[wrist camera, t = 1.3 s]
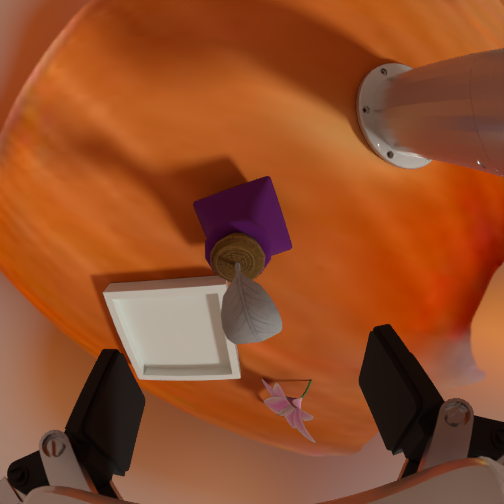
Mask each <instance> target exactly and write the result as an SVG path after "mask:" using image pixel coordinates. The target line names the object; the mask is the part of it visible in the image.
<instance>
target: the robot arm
mask: <svg viewBox="0 0 504 504" xmlns="http://www.w3.org/2000/svg"><path fill="white" fill-rule="evenodd" d="M363 109H364V110H365V112H363ZM356 113H357V118H358V123H359V126H360V129H361V131H362V134H363V136H364V138H365V139H366V141H367V143H368V144H369V146H370V147H371V148H372V150H373V151H374V152H375V153H376V154H377V155H378V156H379V157H380V158H381V159H383V160H384V161H386V162H388V163H389V164H391V165H394V166H396V167H400V168H404V169H417V168H421V167H423V166H425V165H428V164H429V163H430V162H431V161H433V160H436V161H441V162H446V163H451V164H456V165H460V166H464V167H469V168H473V169H477V170H481V171H484V172H488V173H492V174H495V175H499V176H502V177H504V48H502V49H495V50H489V51H484V52H479V53H474V54H469V55H464V56H460V57H455V58H451V59H447V60H443V61H439V62H436V63H432V64H428V65H425V66H421V67H418V68H415V69H413V68H412V67H409V66H407V65H404V64H398V63H388V64H384V65H381V66H378V67H376V68H375V69H373V70H371V71H370V72H369V73H368V74H367V75H366V76H365V77H364V79H363V80H362V82H361V83H360V86H359V89H358V92H357V99H356ZM387 153H388V156H387ZM359 385H360V388H361V390H362V392H363V394H364V397H365V399H366V401H367V404H368V406H369V408H370V410H371V413H372V415H373V417H374V420H375V422H376V425H377V427H378V429H379V432H380V434H381V437H382V439H383V441H384V444H385V446H386V448H387V450H391V451H392V454H393V455H396V454H398V453H401V452H403V453H404V455H405V457H406V460H405V463H404V465H403V467H402V470H401V472H400V474H399V477H398V479H397V481H394V482H392V483H389V484H386V485H383V486H380V487H377V488H374V489H371V490H368V491H364V492H361V493H358V494H355V495H351V496H347V497H343V498H339V499H335V500H331V501H327V502H322V503H317V504H504V422H501V421H496V420H492V419H487V418H483V417H479V416H475V415H474V412H473V409H472V407H471V406H470V404H469V403H468V402H466V401H465V400H462V399H460V398H453V399H449V400H447V401H446V402H445V401H444V400H443V398H442V397H441V395H440V394H439V392H438V391H437V389H436V387H435V386H434V384H433V383H432V381H431V380H430V378H429V377H428V375H427V374H426V372H425V371H424V369H423V368H422V366H421V365H420V364H419V362H418V361H417V359H416V358H415V356H414V355H413V354H412V353H410V352H409V350H408V349H407V347H406V346H405V344H404V343H403V342H402V340H401V339H400V337H399V336H398V335H397V333H396V332H395V331H394V329H393V328H392V327H391V325H390V324H385V325H381V326H376V327H374V329H373V331H371V332H370V334H369V338H368V343H367V347H366V351H365V356H364V360H363V364H362V368H361V372H360V376H359ZM144 406H145V397H144V395H143V393H142V391H141V389H140V387H139V385H138V383H137V381H136V380H135V378H134V376H133V374H132V372H131V370H130V368H129V365H128V363H127V361H126V359H125V357H124V355H123V354H122V353H120V352H119V350H117V349H103V350H102V352H101V353H100V355H99V357H98V359H97V361H96V363H95V365H94V367H93V369H92V371H91V373H90V375H89V377H88V379H87V381H86V383H85V385H84V387H83V389H82V392H81V394H80V396H79V398H78V400H77V402H76V405H75V406H74V409H73V411H72V413H71V416H70V418H69V420H68V422H67V425H66V427H65V429H66V430H65V432H61V431H59V430H51V431H49V432H47V433H45V434H44V436H43V437H42V438H41V440H40V443H39V450H38V451H36V452H34V453H32V454H30V455H28V456H25V457H23V458H21V459H19V460H16V461H15V462H13V463H11V465H10V466H9V468H8V471H7V476H8V478H6V477H3V478H2V479H1V480H0V504H138V503H133V502H128V501H124V499H123V498H122V497H121V495H120V493H119V491H118V490H117V488H116V486H115V485H114V483H113V481H112V476H113V474H115V475H120V476H125V471H128V470H129V467H130V463H131V459H132V455H133V450H134V446H135V442H136V438H137V433H138V429H139V425H140V422H141V418H142V414H143V410H144Z"/></svg>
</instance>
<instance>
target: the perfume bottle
mask: <svg viewBox="0 0 504 504" xmlns="http://www.w3.org/2000/svg"><path fill="white" fill-rule="evenodd" d="M193 206H194V209H195V211H196V213H197V216H198V218H199V221H200V223H201V226H202V228H203V230H204V233H205V235H206V238H207V239H206V240H205V258H206V260H207V262H208V263H209V265H210V267H211V268H212V270H213V271H214V273H216V274H217V275H218V276H219V277H221V278H223V279H225V280H227V281H229V282H231V284H230V286H229V287H228V289H227V290H226V292H225V294H224V295H223V300H222V308H221V321H222V328H223V331H224V333H225V335H226V338H227V339H228V340H229V341H231V342H232V343H234V344H244V343H255V342H262V341H264V340H266V339H268V338H270V337H272V336H274V335H276V334H278V333H279V332H281V331H282V320H281V317H280V314H279V311H278V310H277V308H276V306H275V304H274V302H273V301H272V299H271V298H270V296H269V295H268V294H267V293H266V291H265V290H264V289H263V288H262V286H261V285H260V284H258V283H256V282H255V281H253V279H255V278H257V276H258V275H260V274H261V273H262V271H263V270H264V268H265V267H266V266H267V264H268V263H269V261H270V260H271V256H272V255H275V254H278V253H281V252H284V251H287V250H290V249H291V248H292V244H291V240H290V237H289V234H288V230H287V227H286V224H285V221H284V218H283V214H282V211H281V208H280V205H279V202H278V199H277V196H276V193H275V190H274V187H273V184H272V180H271V178H270V177H269V176H266V177H262V178H259V179H256V180H253V181H251V182H248V183H245V184H242V185H239V186H236V187H233V188H230V189H228V190H225V191H222V192H219V193H216V194H214V195H211V196H208V197H206V198H203V199H200V200H198V201H195V202H194V203H193Z"/></svg>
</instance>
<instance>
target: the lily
mask: <svg viewBox="0 0 504 504" xmlns="http://www.w3.org/2000/svg"><path fill="white" fill-rule="evenodd" d="M262 381H263V383H264V385H265V387H266V388H267V390H268V391H269V393H270V394H271V395H272V396H273V397H270V398H268V399H266V400H264V403H265V404H266V405H267V406H268V407H269V408H270V409H271V410H272V411H273V412H275V413H277V415H281V416H282V417H283V416H285V418H286V419H287V421H288V423H289V424H290V425H291V426H292V427H293V428H294V429H295V428H296V427H297V429H298V430H299V431H300V432H301V434H303V435H304V436H305V437H306V438H308V439H309V440H311V441H312V442H314V443H316V442H315V441H314V439H313V438H312V437H311V436H310V434H309V433H308V432H307V430H306V428H305V426H304V424H303V421H302V418H303V420H304V421H309V420H312V419H314V417H313V416H312V415H310V414H308V413H306V412H305V411H303V410H301V400H302V398H303V397H304V395H305V394H306V392H307V390H308V388H309V386H310V384H311V381H312V380H310V382H309V384H308V386H307V388H306V391H305V392H304V394H303V395H302V396H301V397H300V398H299V399H297V398H291V397H287V396H285V395H284V393H283V391H282V389H281V387H280V385H279V384H278V383H276V384H275V385H274V387H273V388H271V387H270V386H269V385H268V384H267V383H266V382H265V381H264V380H263V379H262ZM300 411H301V415H302V418H301V415H300Z"/></svg>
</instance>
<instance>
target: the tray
mask: <svg viewBox="0 0 504 504" xmlns="http://www.w3.org/2000/svg"><path fill="white" fill-rule="evenodd" d="M227 289H228V281H227V280H225V279H223V278H221V277H219V276H218V275H216V276H204V277H192V278H179V279H166V280H153V281H138V282H123V283H110V284H109V285H108V286H107V288H106V289H105V290H104V291H103V295H104V298H105V300H106V303H107V306H108V309H109V311H110V314H111V317H112V319H113V322H114V324H115V327H116V329H117V332H118V334H119V336H120V339H121V341H122V343H123V346H124V348H125V350H126V352H127V355H128V357H129V359H130V361H131V363H132V365H133V367H134V369H135V371H136V373H137V375H138V377H139V379H146V380H221V379H239V378H241V372H240V361H239V355H238V349H237V344H234V343H232V342H231V341H229V340H228V339H227V338H226V335H225V333H224V331H223V328H222V321H221V308H222V300H223V295H224V294H225V292H226V290H227Z"/></svg>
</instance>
